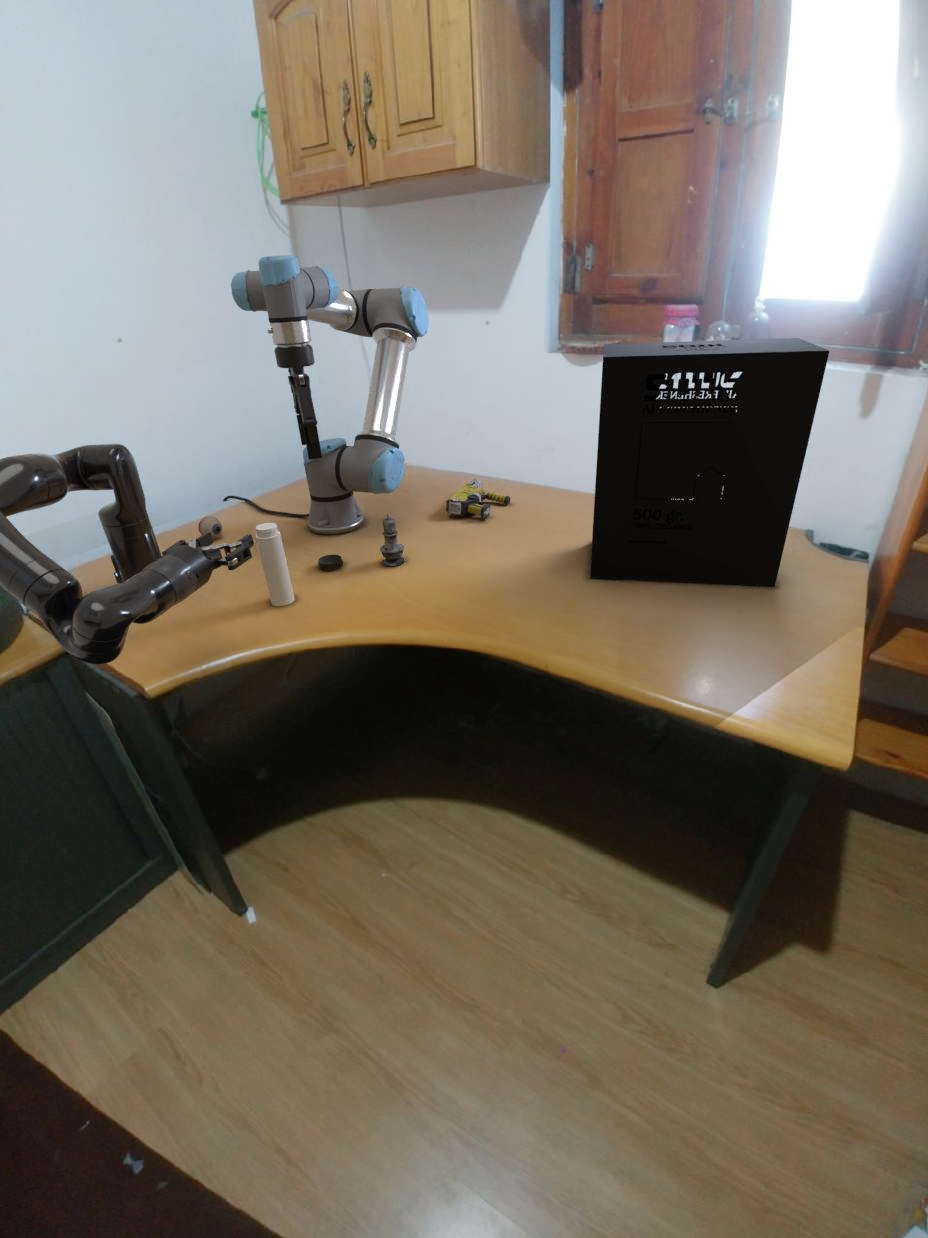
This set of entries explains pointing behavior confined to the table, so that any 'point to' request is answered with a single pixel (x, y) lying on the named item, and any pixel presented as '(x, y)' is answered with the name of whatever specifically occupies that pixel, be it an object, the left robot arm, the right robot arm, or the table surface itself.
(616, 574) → the cardboard box
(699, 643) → the table surface
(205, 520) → the eyeball
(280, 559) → the jar
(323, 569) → the lid
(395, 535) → the grey stepped tapered figure
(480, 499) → the toy gun
